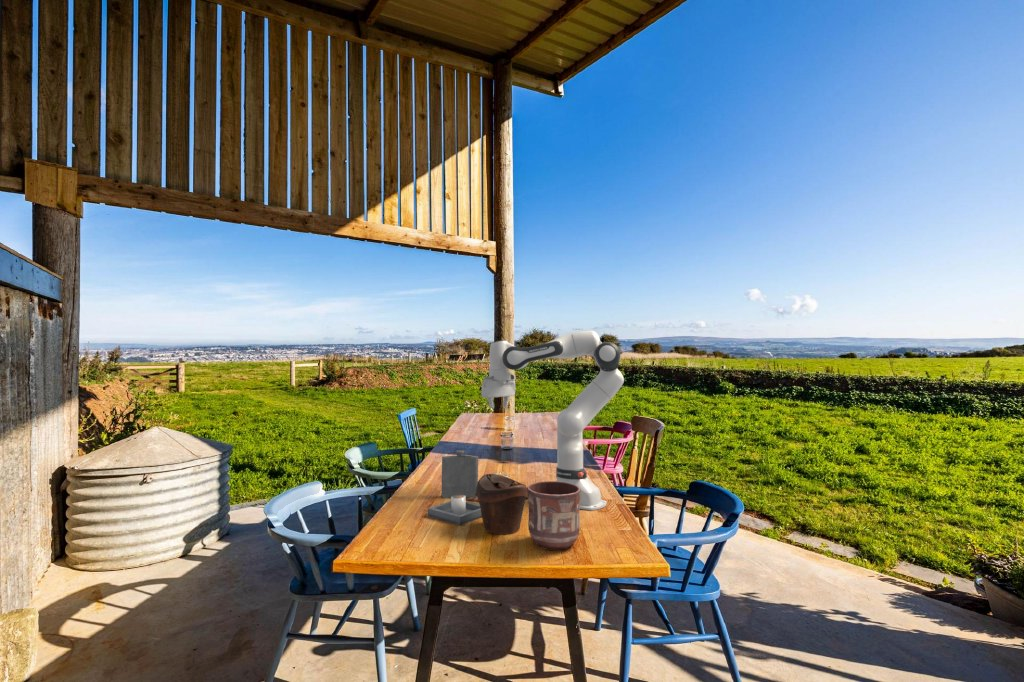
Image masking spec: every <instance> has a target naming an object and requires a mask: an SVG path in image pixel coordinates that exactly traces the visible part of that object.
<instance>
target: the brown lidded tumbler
mask: <svg viewBox="0 0 1024 682" xmlns="http://www.w3.org/2000/svg"><path fill="white" fill-rule="evenodd" d="M527 487H528V486H527V485H526V484H524V483H521V482H518V481H516V480H515V479H512V478H509V477H507V476H504V475H500V474H498V473H486V474H484V475H482V476H481V477H479V478H478V483H477V487H476V490H475V496H477V497H476V498H477V500H478V504H479V505H480V509H481V514H482V524H483V530H484V531H486V532H487V533H489V534H494V535H511V534H516V533H517V532H518V531H520V528H521V522H522V520H523V519H522V518H523V513H524V508H525V504H526V500H528V493H527Z"/></svg>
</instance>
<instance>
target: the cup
mask: <svg viewBox="0 0 1024 682" xmlns="http://www.w3.org/2000/svg"><path fill="white" fill-rule="evenodd" d="M466 498H467V497H466V496H465V495H454V496H451V498H450V501H451V513H454V514H458V515H462V514H465V513H466V502H467V501H466V500H467V499H466Z"/></svg>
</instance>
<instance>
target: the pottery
mask: <svg viewBox="0 0 1024 682" xmlns="http://www.w3.org/2000/svg"><path fill="white" fill-rule="evenodd" d="M526 487H527V493H528V499H527V500H528V519H527V520H528V522H527V523H528V525H527V526H528V532H529V535H530V537H531V540H532V541H533V542H534V543H535V544H536V545H537V546H538V547H539V548H542V549H545V550H547V551H548V550H549V551H561V550H566V549H569V548H571V547H572V545H574V543H576V542H577V539H578V538H579V534H580V529H581V528H580V525H581V524H580V518H581V517H580V511H581V509H580V494H581V489H580V488H579V487H578V486H576V485H574V484H570V483H566V482H558V481H557V480H556V481H555V480H554V481H553V480H550V481H549V480H547V481H538V482H537V481H536V482H533V483H531V484H529V485H528V486H526Z"/></svg>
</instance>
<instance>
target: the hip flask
mask: <svg viewBox="0 0 1024 682" xmlns="http://www.w3.org/2000/svg"><path fill="white" fill-rule="evenodd" d="M455 453H456V455H443V456H441V495H440V496H441V498H442V499H448V498H449V499H451V496H454V495H465V496H466V498H475V499H476V498H478V497H477V496H475V490H476V487H477V483H478V481H479V455H472V454H470V455H469V454H465V450H464V449H463V450H461V449H459V450H456V451H455Z"/></svg>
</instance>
